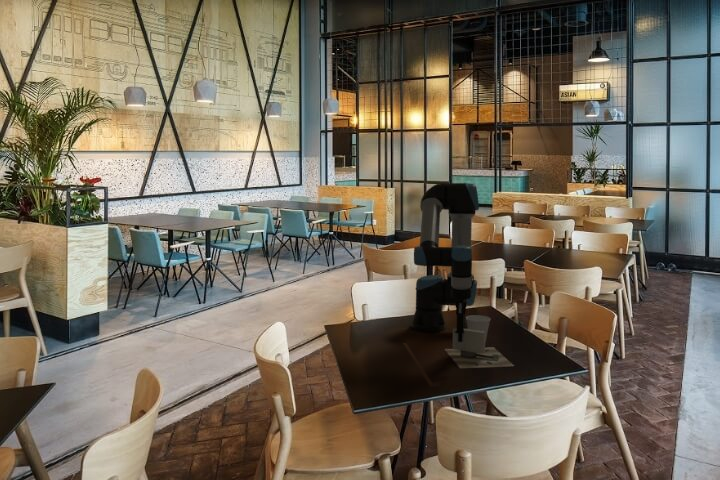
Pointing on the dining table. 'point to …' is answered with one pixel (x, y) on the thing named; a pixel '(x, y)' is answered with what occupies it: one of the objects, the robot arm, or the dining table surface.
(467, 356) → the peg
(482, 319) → the cup
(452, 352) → the board
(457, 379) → the dining table surface
